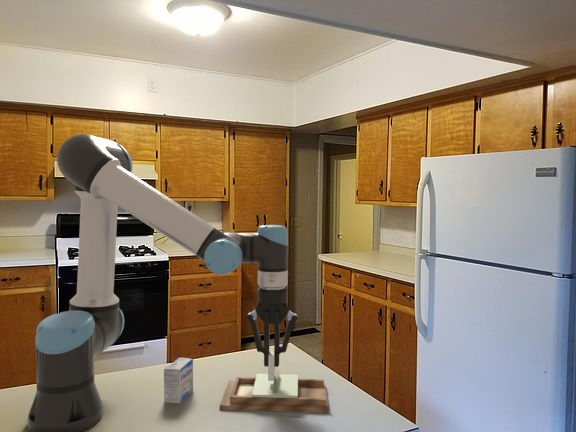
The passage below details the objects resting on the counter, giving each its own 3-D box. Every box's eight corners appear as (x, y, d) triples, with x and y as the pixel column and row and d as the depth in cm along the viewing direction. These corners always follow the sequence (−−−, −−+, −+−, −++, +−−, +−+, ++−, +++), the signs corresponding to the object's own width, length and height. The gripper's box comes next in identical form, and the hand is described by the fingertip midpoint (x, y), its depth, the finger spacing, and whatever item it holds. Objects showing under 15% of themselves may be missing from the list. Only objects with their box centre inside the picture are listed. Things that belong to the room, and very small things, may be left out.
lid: (251, 396, 107) (252, 388, 107) (256, 375, 119) (257, 367, 119) (297, 398, 106) (297, 389, 106) (297, 376, 119) (298, 368, 119)
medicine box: (180, 404, 108) (180, 370, 108) (163, 402, 109) (163, 368, 109) (193, 390, 116) (193, 358, 116) (177, 389, 117) (177, 356, 116)
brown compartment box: (219, 409, 106) (219, 398, 106) (229, 384, 120) (229, 374, 120) (328, 412, 106) (328, 402, 105) (325, 387, 120) (325, 377, 119)
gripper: (244, 289, 108) (244, 384, 109) (298, 290, 108) (296, 385, 109) (248, 283, 115) (247, 372, 117) (298, 284, 115) (297, 373, 116)
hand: (271, 378), depth 113 cm, fingers closed
